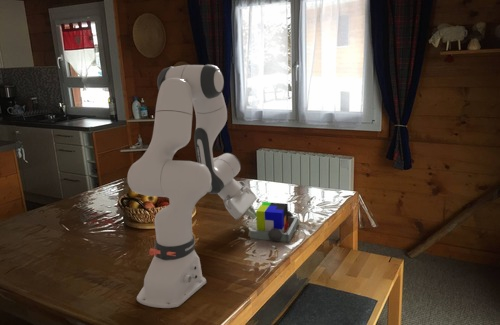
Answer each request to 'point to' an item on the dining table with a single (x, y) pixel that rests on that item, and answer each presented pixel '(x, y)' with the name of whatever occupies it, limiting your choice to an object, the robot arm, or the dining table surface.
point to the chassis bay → (277, 231)
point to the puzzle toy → (272, 216)
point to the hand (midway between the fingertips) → (255, 217)
